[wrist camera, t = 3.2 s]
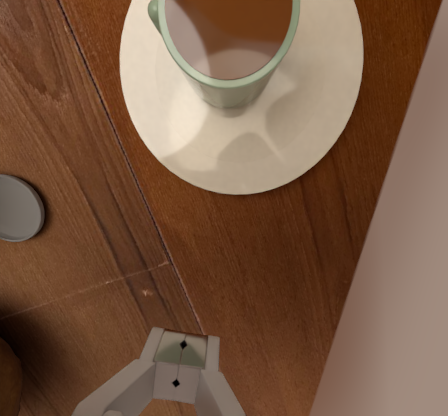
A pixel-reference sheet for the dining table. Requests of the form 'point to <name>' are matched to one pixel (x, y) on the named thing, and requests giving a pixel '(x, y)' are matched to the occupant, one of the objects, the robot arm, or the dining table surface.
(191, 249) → the dining table surface
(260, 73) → the teacup
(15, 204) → the pocket watch
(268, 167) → the plate
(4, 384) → the bowl
